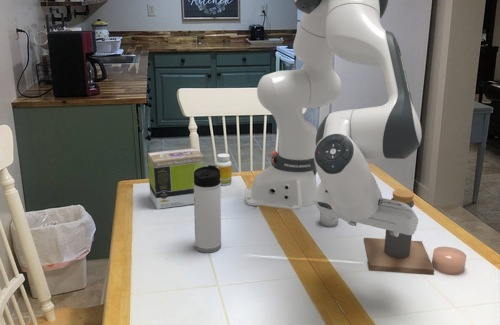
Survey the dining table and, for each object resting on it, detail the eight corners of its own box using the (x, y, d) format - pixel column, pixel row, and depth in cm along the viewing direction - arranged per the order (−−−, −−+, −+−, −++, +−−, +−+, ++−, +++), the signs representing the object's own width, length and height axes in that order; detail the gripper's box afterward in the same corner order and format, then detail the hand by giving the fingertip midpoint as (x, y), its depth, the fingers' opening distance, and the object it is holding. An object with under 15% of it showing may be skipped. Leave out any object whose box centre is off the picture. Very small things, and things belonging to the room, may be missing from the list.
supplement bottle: (211, 183, 167) (211, 155, 164) (223, 179, 171) (223, 151, 168) (223, 187, 164) (223, 158, 161) (235, 182, 168) (235, 155, 165)
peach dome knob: (435, 274, 114) (437, 260, 112) (428, 259, 120) (430, 245, 119) (468, 276, 113) (470, 262, 112) (459, 261, 119) (461, 247, 118)
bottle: (410, 259, 117) (418, 198, 112) (384, 256, 118) (390, 196, 113) (408, 248, 122) (415, 189, 118) (383, 245, 124) (389, 187, 119)
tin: (324, 230, 134) (326, 212, 132) (315, 222, 138) (317, 205, 137) (341, 228, 136) (343, 211, 134) (332, 220, 140) (333, 203, 138)
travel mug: (225, 243, 127) (225, 166, 120) (215, 254, 121) (214, 175, 114) (202, 239, 128) (200, 163, 122) (190, 250, 123) (188, 171, 116)
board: (369, 270, 115) (369, 265, 114) (363, 241, 128) (364, 237, 128) (433, 274, 113) (434, 269, 113) (421, 245, 126) (421, 241, 126)
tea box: (197, 192, 160) (196, 146, 155) (206, 203, 151) (205, 155, 146) (149, 197, 155) (147, 151, 150) (155, 210, 146) (153, 160, 141)
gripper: (415, 192, 93) (427, 226, 104) (317, 173, 105) (336, 205, 115) (404, 222, 91) (418, 253, 101) (305, 199, 103) (326, 229, 113)
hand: (374, 227), depth 108 cm, fingers open, 8 cm apart
